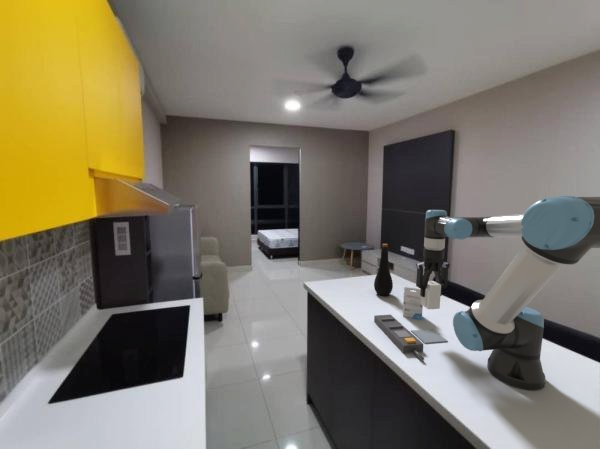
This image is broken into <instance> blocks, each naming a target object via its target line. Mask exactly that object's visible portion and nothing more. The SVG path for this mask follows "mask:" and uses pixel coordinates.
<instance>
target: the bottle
mask: <svg viewBox="0 0 600 449" xmlns="http://www.w3.org/2000/svg"><path fill="white" fill-rule="evenodd" d="M381 245H382V246H380V247H381V249H380V250H381V251H380V252H381V253H380V260H379V264H378V265H379V266H378V268H377V269H378V270H377V274H376V275H375V278H374V282H373V287H374V288H373V289H374V291H375V292H376V295H377V296H379V297H386V298H387V297H389V296H390V294H391V293H392V291H393V286H394V285H393V284H394V283H393V278H392V275H391V271H390V263H389V246H388V245H389V244H388V243H382V244H381Z"/></svg>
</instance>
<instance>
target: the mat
mask: <svg viewBox="0 0 600 449" xmlns="http://www.w3.org/2000/svg"><path fill="white" fill-rule="evenodd" d="M410 332H411V333H412V334H413V335H414V336H415V337H416V338H417V339H418V340H420V341H421V342H422V343H423V344H425V345H427V344H435V343H436V344H439V343H448V340H447V339H446V338H445V337H444V336H442V335H441V334H440V333H438V332H437V331H436V330H434V329H433V328H427V329H415V330H413V329H412V330H410Z"/></svg>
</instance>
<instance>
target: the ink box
mask: <svg viewBox="0 0 600 449" xmlns="http://www.w3.org/2000/svg"><path fill="white" fill-rule="evenodd" d="M403 288H404V289H403V290H404V291H403V301H402V302H403V305H402V307H403V308H402V317H406V318H411V319H416V320H420V321H421V320H422V319H423V308H424V306H423V305H421V298H422V296H420V290H421V289H420V288H414V287H407V286H404V287H403Z"/></svg>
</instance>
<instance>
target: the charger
mask: <svg viewBox="0 0 600 449" xmlns="http://www.w3.org/2000/svg"><path fill="white" fill-rule="evenodd" d="M426 289H427V290H428V295H427V306H425V305H424V304H422V303H421V305H423V308H426V309H427V310H440V308H441V297H442V296H441V284H439V283H437V282H436V280H435V281H434V280H429V281H428V284H427V287H426ZM421 300H422V298H421Z"/></svg>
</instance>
